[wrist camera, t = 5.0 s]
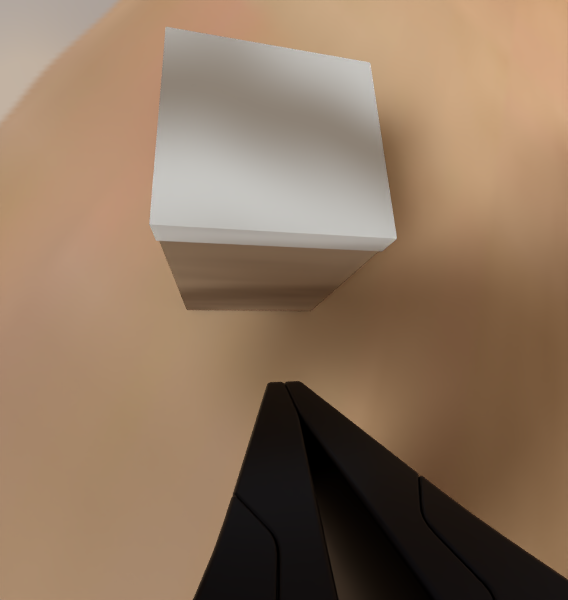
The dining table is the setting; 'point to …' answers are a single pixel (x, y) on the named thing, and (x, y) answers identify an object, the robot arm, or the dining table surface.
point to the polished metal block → (266, 173)
